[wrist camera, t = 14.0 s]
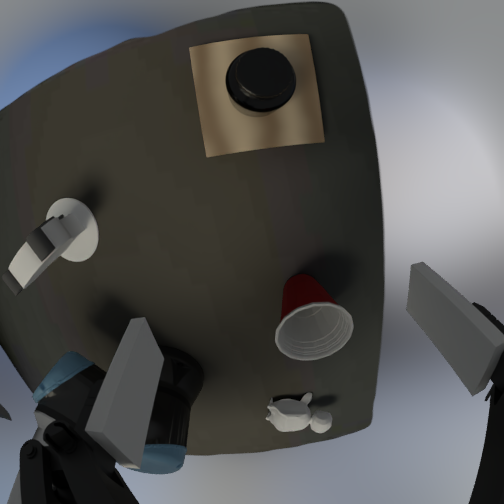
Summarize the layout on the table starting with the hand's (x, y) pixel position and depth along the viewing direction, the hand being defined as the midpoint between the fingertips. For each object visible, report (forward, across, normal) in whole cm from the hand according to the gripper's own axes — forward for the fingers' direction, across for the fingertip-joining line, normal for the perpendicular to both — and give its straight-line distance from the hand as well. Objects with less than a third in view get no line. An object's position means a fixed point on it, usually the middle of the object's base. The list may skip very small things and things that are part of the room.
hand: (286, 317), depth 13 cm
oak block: (+29, -3, -14) cm, 33 cm away
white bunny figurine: (+31, -2, +49) cm, 58 cm away
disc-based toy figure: (+31, +30, -1) cm, 43 cm away
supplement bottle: (+26, -3, -14) cm, 29 cm away
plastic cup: (+30, -5, +18) cm, 35 cm away
